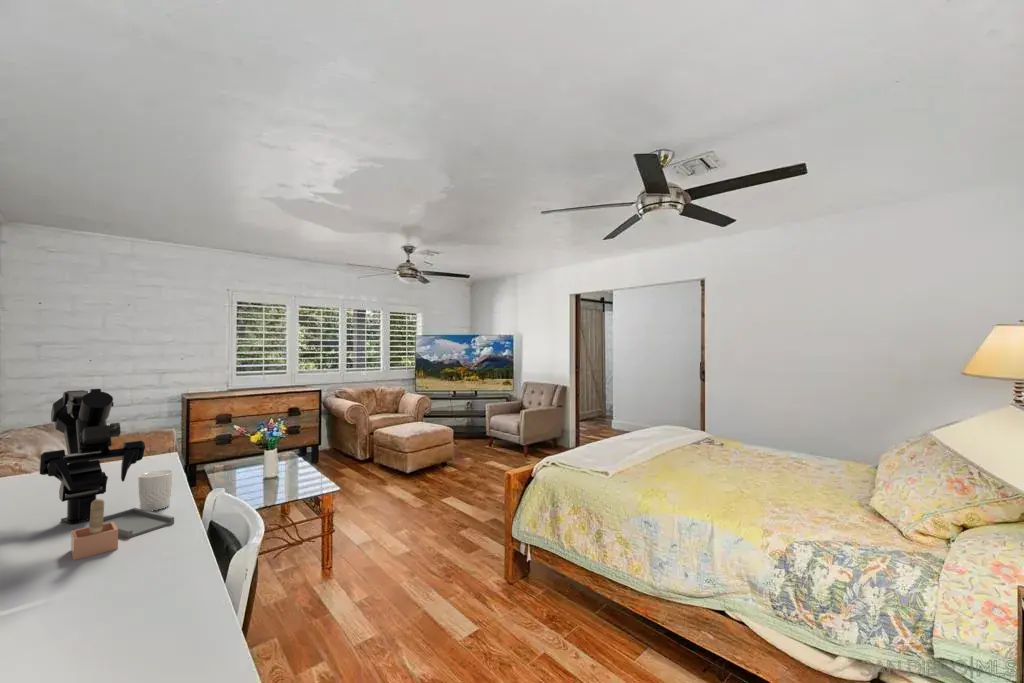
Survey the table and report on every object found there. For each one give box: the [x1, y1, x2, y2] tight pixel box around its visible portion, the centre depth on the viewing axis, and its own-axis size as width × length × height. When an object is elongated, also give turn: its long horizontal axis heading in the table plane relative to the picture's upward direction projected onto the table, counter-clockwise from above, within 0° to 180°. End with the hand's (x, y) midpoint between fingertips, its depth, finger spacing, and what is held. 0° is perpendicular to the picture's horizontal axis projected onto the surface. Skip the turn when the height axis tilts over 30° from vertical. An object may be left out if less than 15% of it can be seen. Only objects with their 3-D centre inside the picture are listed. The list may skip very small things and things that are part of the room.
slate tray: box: [88, 507, 175, 539], centre depth 114 cm, size 18×10×2 cm, turn 67°
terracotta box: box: [70, 521, 119, 561], centre depth 100 cm, size 7×7×5 cm
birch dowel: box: [88, 498, 105, 535], centre depth 99 cm, size 6×2×12 cm, turn 49°
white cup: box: [137, 469, 173, 512], centre depth 129 cm, size 8×8×10 cm
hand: (98, 484), depth 105 cm, fingers open, 9 cm apart
